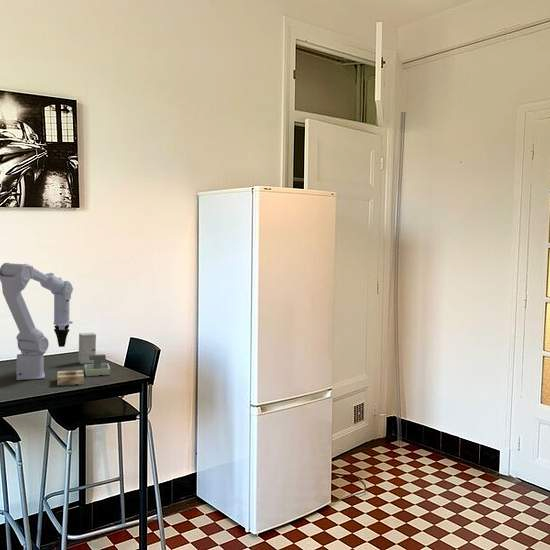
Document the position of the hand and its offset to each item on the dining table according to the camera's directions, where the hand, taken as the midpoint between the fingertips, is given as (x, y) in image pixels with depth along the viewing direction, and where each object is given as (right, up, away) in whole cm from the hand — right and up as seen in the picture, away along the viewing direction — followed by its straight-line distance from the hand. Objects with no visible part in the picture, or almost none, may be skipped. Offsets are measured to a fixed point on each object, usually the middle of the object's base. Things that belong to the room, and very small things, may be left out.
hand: (61, 344), depth 233 cm
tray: (+16, -10, -5) cm, 19 cm away
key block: (+10, -11, -19) cm, 24 cm away
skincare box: (+6, -9, +12) cm, 16 cm away
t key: (+16, -10, -5) cm, 19 cm away
